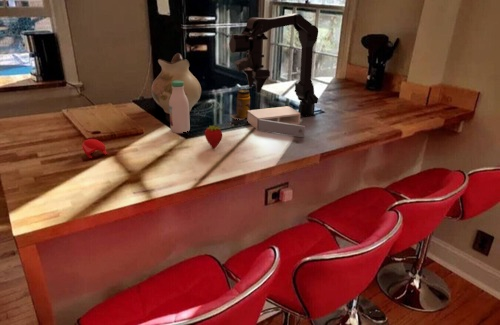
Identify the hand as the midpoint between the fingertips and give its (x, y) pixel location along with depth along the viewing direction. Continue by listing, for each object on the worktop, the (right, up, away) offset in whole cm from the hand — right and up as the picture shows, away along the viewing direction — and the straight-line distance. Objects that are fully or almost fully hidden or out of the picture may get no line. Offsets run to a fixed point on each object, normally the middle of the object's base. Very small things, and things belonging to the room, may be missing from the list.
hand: (254, 89), depth 158 cm
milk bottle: (-30, -18, -5) cm, 35 cm away
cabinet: (+8, -13, +6) cm, 17 cm away
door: (+10, -19, -6) cm, 22 cm away
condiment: (-6, -10, +13) cm, 17 cm away
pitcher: (-36, -6, +20) cm, 42 cm away
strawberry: (-15, -25, -20) cm, 36 cm away
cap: (-55, -28, -28) cm, 68 cm away
